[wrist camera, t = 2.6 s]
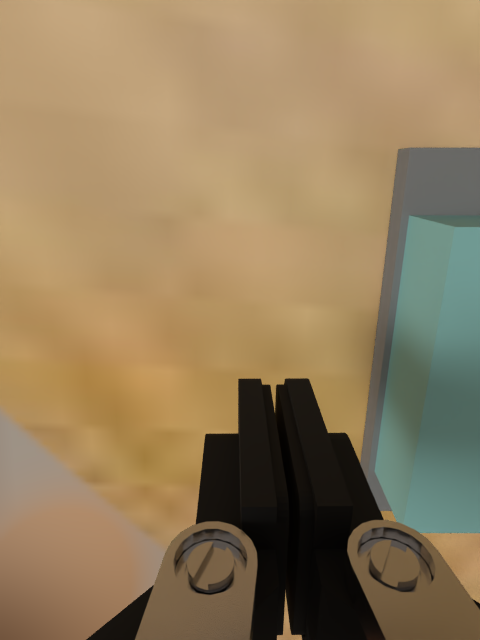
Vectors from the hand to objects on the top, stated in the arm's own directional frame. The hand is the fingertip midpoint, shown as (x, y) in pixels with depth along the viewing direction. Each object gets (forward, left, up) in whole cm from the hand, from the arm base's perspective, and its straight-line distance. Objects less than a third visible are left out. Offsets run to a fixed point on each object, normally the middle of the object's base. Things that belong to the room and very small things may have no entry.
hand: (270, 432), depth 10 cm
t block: (0, -8, -5) cm, 10 cm away
